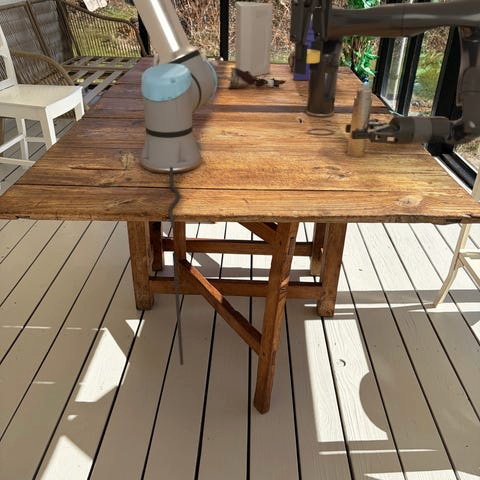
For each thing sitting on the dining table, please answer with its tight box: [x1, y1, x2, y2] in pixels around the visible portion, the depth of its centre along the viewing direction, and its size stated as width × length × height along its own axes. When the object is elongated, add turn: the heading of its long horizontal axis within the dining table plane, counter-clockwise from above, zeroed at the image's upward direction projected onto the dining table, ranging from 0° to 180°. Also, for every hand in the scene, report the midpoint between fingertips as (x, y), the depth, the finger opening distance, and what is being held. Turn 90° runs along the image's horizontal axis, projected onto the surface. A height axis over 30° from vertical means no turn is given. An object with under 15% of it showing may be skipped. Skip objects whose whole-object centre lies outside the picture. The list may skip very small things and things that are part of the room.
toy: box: [153, 52, 219, 68], centre depth 223 cm, size 24×25×7 cm
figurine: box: [216, 66, 287, 89], centre depth 190 cm, size 24×8×30 cm
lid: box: [306, 49, 320, 63], centre depth 112 cm, size 5×5×2 cm
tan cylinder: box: [346, 87, 374, 158], centre depth 126 cm, size 5×5×17 cm
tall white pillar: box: [234, 1, 274, 77], centre depth 210 cm, size 19×15×28 cm
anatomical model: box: [287, 49, 295, 72], centre depth 221 cm, size 13×9×15 cm
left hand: (307, 71), depth 114 cm, fingers closed on lid, 5 cm apart
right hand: (349, 131), depth 127 cm, fingers closed on tan cylinder, 4 cm apart
